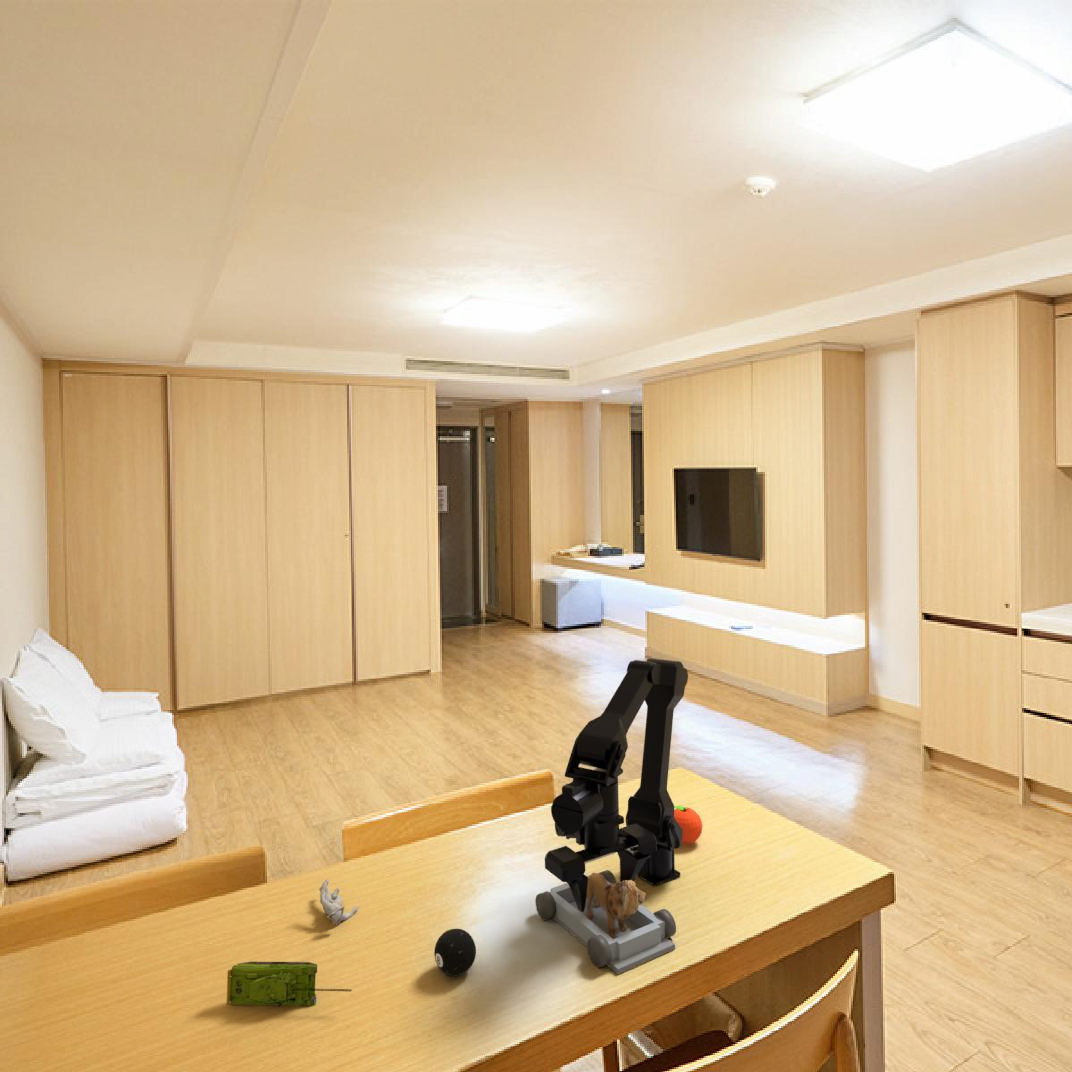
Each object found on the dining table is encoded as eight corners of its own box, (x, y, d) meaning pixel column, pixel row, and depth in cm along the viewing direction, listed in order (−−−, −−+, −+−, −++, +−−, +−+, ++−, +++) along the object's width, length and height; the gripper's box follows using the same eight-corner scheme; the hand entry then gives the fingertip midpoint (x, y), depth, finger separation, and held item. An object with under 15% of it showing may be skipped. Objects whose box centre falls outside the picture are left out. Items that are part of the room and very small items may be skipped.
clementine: (656, 839, 152) (655, 805, 151) (680, 829, 156) (679, 796, 156) (686, 854, 145) (685, 818, 145) (710, 843, 150) (709, 808, 149)
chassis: (598, 884, 135) (598, 862, 135) (682, 945, 116) (682, 920, 116) (531, 909, 127) (530, 886, 127) (609, 978, 109) (608, 951, 108)
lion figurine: (651, 937, 117) (650, 881, 117) (626, 950, 114) (625, 892, 114) (589, 898, 129) (588, 847, 129) (565, 908, 126) (564, 856, 125)
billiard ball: (484, 971, 111) (483, 932, 111) (450, 990, 107) (449, 949, 107) (460, 953, 116) (459, 916, 115) (427, 971, 112) (426, 932, 111)
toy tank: (241, 947, 110) (208, 976, 100) (368, 949, 109) (347, 978, 99) (238, 1000, 109) (204, 1034, 99) (367, 1002, 108) (345, 1037, 98)
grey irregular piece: (352, 898, 135) (370, 908, 124) (335, 924, 132) (351, 936, 122) (318, 873, 133) (333, 880, 123) (300, 899, 131) (314, 908, 121)
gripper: (616, 780, 132) (618, 866, 133) (525, 805, 123) (528, 897, 124) (658, 801, 123) (659, 893, 124) (563, 830, 113) (565, 930, 114)
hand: (603, 902), depth 122 cm, fingers open, 8 cm apart
